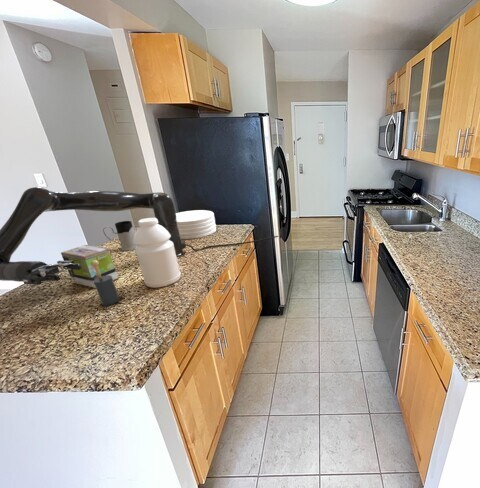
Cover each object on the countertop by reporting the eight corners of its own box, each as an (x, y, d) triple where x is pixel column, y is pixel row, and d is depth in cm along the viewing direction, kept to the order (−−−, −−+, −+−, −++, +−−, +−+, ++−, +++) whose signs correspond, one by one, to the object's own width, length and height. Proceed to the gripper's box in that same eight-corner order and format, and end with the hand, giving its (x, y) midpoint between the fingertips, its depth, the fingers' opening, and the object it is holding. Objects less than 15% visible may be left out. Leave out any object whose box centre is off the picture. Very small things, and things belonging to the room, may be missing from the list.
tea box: (119, 277, 117) (109, 247, 112) (95, 289, 108) (82, 256, 103) (97, 272, 122) (86, 243, 116) (71, 283, 113) (58, 252, 108)
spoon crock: (121, 296, 103) (107, 256, 97) (118, 303, 99) (103, 261, 92) (104, 299, 101) (88, 258, 95) (100, 307, 97) (83, 264, 90)
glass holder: (138, 248, 149) (131, 223, 143) (107, 253, 143) (98, 227, 137) (140, 243, 156) (133, 219, 150) (111, 247, 150) (103, 223, 144)
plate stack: (188, 224, 191) (185, 209, 186) (223, 226, 187) (221, 210, 183) (160, 238, 165) (156, 220, 161) (201, 240, 161) (198, 222, 157)
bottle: (143, 291, 107) (123, 226, 96) (146, 276, 118) (129, 217, 108) (181, 283, 113) (166, 221, 102) (181, 270, 124) (168, 213, 114)
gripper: (-1, 271, 88) (46, 271, 87) (42, 254, 101) (83, 254, 101) (9, 290, 90) (54, 291, 90) (50, 271, 104) (90, 271, 103)
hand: (70, 271), depth 95 cm, fingers open, 8 cm apart
